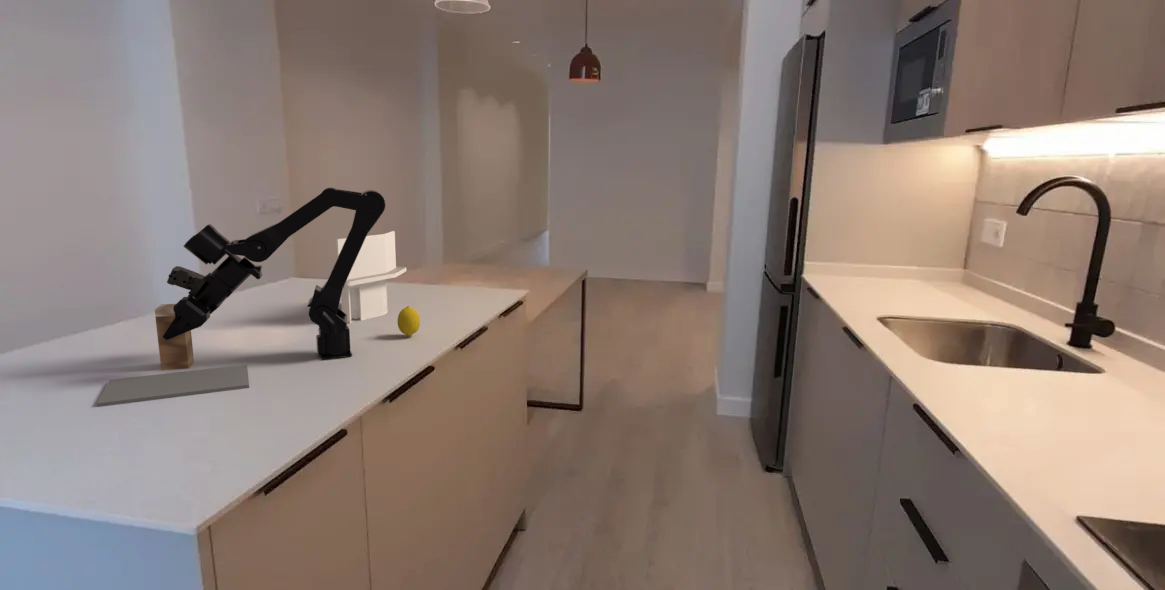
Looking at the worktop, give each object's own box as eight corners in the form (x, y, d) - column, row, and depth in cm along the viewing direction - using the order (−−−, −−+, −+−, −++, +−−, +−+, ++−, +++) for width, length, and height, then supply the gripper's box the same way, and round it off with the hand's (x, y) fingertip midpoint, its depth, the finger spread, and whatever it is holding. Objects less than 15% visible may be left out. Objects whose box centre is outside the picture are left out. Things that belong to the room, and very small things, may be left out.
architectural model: (349, 303, 202) (345, 228, 197) (417, 305, 201) (415, 230, 196) (310, 325, 174) (304, 238, 169) (388, 328, 174) (385, 240, 169)
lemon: (393, 338, 163) (392, 307, 162) (407, 332, 168) (406, 302, 167) (411, 340, 161) (410, 309, 160) (424, 335, 166) (424, 305, 165)
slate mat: (247, 367, 138) (247, 364, 138) (249, 387, 126) (248, 384, 126) (109, 382, 127) (109, 379, 127) (97, 406, 115) (97, 403, 115)
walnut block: (194, 361, 141) (188, 303, 139) (188, 368, 137) (182, 308, 134) (167, 363, 140) (161, 304, 137) (161, 370, 135) (154, 309, 132)
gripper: (201, 247, 144) (149, 298, 142) (181, 260, 126) (121, 318, 125) (244, 281, 148) (193, 331, 146) (229, 298, 130) (172, 354, 129)
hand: (170, 332), depth 137 cm, fingers open, 9 cm apart
